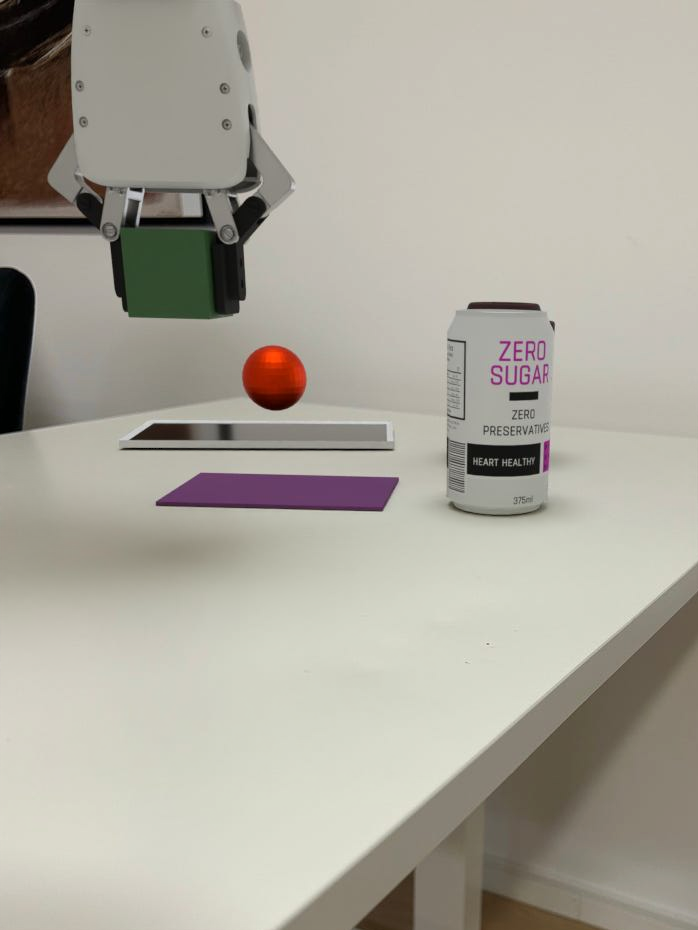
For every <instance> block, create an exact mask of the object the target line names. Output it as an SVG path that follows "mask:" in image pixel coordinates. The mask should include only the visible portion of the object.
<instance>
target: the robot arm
mask: <svg viewBox="0 0 698 930" xmlns="http://www.w3.org/2000/svg"><path fill="white" fill-rule="evenodd" d="M71 26H72V29H71V45H70V46H71V49H70V50H71V51H70V64H71V65H70V85H71V86H70V87H71V107H72V110H71V111H72V124H73V132H72V134H71V135H70V137H69V138H68V141H67V142H66V143H65V145H64V147H63V149H62V150H61V151H60V152H59V155H58V157H57V158H56V160H55V162H54V163H53V165H52V166H51V168H50V170H49V172H48V173H47V182H48V184H49V185H50V187H52V188H53V189H54V190H55V191H56V192H57V193H59V194H60V195H61V196H62V197H63V198H65V200H67V201H68V202H70V203H71V204H73V205H74V206H75V207H76V208H77V210H78V211H79V212H80V213H81V214H82V216H84V217H85V218H86V219H87V220H88V221H89V222H90V223H91V224H92V225H93V226H94V227H95V228H96V229H97V230H98V231H99V233H100V236H101V237H102V238H103V239H104V240H105V241H107V242H109V249H110V259H111V268H112V277H113V279H112V280H113V288H114V292H115V295H116V297H117V298H118V299H121V306H122V310H123V312H124V313H128V307H127V297H126V286H125V276H124V266H123V256H122V246H121V236H120V228H139V225H140V220H141V215H142V214H141V213H142V209H143V203H144V197H145V193H155V194H158V193H159V194H199V195H204V198H205V201H206V204H207V206H208V210H209V213H210V215H211V218H212V221H213V225H214V228H215V231H217V234H216V244H212V247H211V263H212V277H213V292H214V306H215V312H218V314H219V315H230V314H233V315H236V314H240V310H241V307H240V305H241V303H240V302H245V300H246V299H247V282H246V281H247V280H246V265H245V249H244V247H245V245H247V244H248V243H249V242H250V239H251V237H252V236H253V234H254V233H255V232H256V231H257V230H258V229H259V227H260V226H262V224H263V223H264V222H265V221H266V220H267V218H268V217H269V216H270V214H271V213H272V212H273V211H274V210H276V209H277V208H279V206H281V205H282V204H283V203H284V202H285V201H286V200H287V199H288V198H289V197H290V196H291V195H293V194H294V193H295V191H296V189H297V182H296V181H295V179H294V178H293V176H292V175H291V174H290V172H289V171H288V170H287V168H286V167H285V165H284V164H283V162H281V161H280V159H279V158H278V156H277V155H276V154H275V152H274V151H273V149H272V148H271V147H270V146H269V144H267V142H266V141H265V139H264V138H263V137H262V128H261V120H260V111H259V101H258V93H257V86H256V78H255V71H254V66H253V60H252V59H253V58H252V53H251V47H250V42H249V36H248V30H247V26H246V22H245V17H244V14H243V9H242V6H241V4H240V3H239V2H237V1H236V0H74V6H73V14H72V25H71ZM84 178H85V179H86V180H88V181H89V182H92V183H93V184H96V185H99V186H103V187H106V189H105V195H104V197H103V196H102V195H100V194H98V193H97V192H95V191H94V190H93V189H92V188H91V187H90V186H89V185H88V184H87V183H86V181H85V179H84ZM256 189H257V191H255V192H254V193H253V194H252V195H251V196H248V197H247V198H246V199H245V200H243V202H242V203H241V201H240V199H239V196H238V195H239V194H240V195H241V194H246V193H249V192H252V191H254V190H256Z"/></svg>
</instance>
